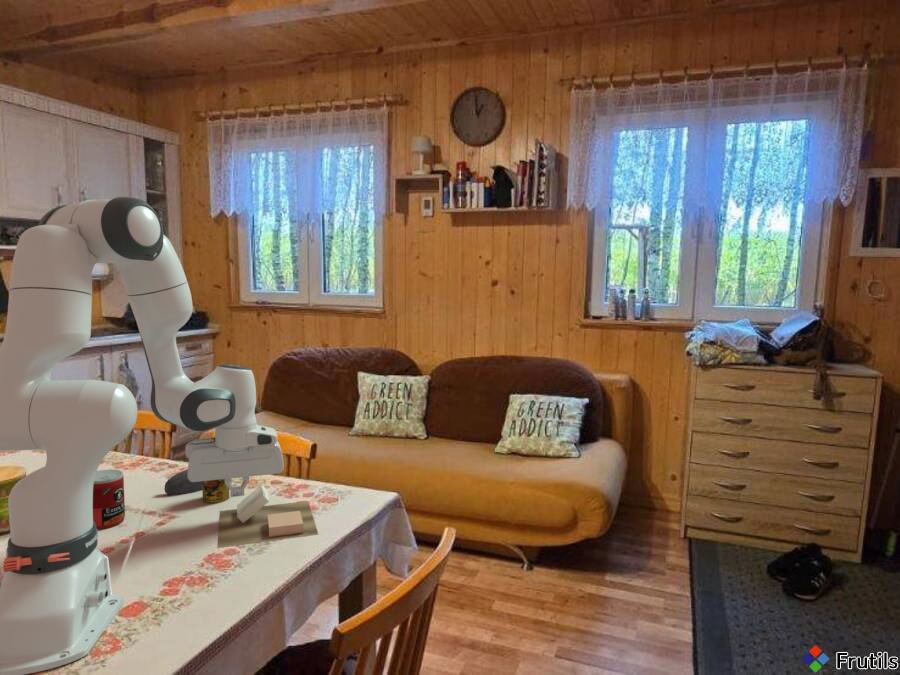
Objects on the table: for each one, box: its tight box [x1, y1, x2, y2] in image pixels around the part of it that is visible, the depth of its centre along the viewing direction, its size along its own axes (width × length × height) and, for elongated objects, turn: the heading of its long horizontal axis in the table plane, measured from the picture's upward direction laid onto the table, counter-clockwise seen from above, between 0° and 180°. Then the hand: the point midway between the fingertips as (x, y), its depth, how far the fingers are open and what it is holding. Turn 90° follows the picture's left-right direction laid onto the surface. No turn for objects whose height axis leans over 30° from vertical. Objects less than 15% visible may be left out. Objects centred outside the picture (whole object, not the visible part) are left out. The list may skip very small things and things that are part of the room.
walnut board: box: [217, 500, 319, 549], centre depth 129 cm, size 19×20×1 cm
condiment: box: [201, 479, 230, 505], centre depth 141 cm, size 7×8×12 cm
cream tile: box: [236, 484, 270, 523], centre depth 131 cm, size 7×2×7 cm
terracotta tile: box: [267, 511, 303, 537], centre depth 125 cm, size 7×2×7 cm
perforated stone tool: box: [164, 468, 203, 496], centre depth 147 cm, size 15×5×7 cm, turn 132°
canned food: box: [93, 469, 126, 530], centre depth 129 cm, size 8×8×11 cm
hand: (237, 495), depth 130 cm, fingers closed
